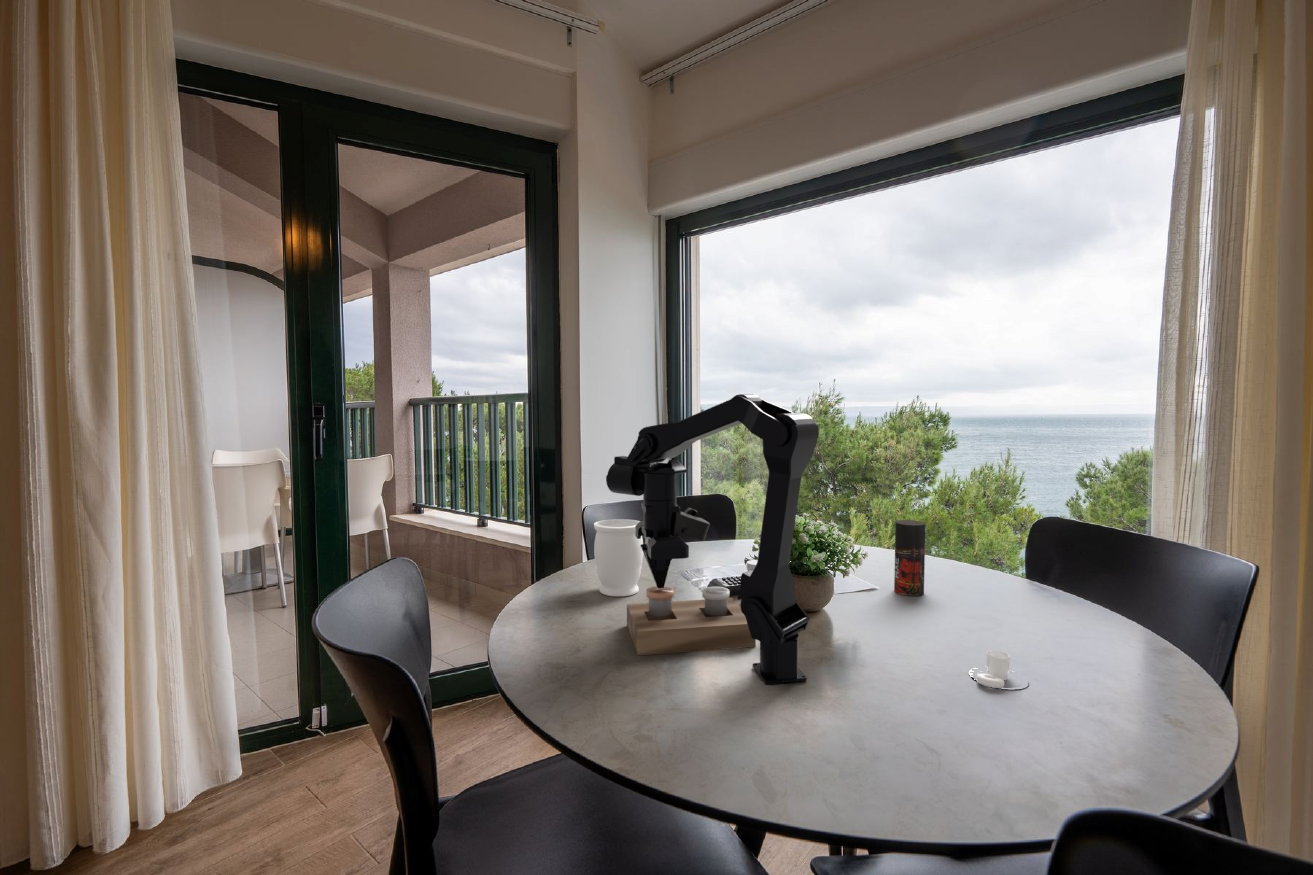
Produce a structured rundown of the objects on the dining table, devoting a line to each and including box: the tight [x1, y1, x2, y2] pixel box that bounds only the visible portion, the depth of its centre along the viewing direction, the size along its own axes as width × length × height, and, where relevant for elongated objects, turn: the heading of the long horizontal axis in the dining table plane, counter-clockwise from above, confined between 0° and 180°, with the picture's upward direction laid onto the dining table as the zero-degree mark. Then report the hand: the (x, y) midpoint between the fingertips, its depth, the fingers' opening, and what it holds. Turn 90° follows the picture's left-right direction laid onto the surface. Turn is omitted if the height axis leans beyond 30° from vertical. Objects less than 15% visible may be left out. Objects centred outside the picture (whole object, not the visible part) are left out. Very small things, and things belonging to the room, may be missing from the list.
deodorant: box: [893, 519, 926, 597], centre depth 138 cm, size 6×6×15 cm
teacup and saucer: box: [968, 649, 1014, 689], centre depth 96 cm, size 9×8×4 cm
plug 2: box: [701, 586, 731, 617], centre depth 114 cm, size 5×5×4 cm
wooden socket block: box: [626, 597, 757, 656], centre depth 114 cm, size 14×20×4 cm
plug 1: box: [645, 585, 675, 616], centre depth 113 cm, size 5×5×4 cm
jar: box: [593, 518, 644, 598], centre depth 139 cm, size 11×10×15 cm
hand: (660, 587), depth 113 cm, fingers closed
